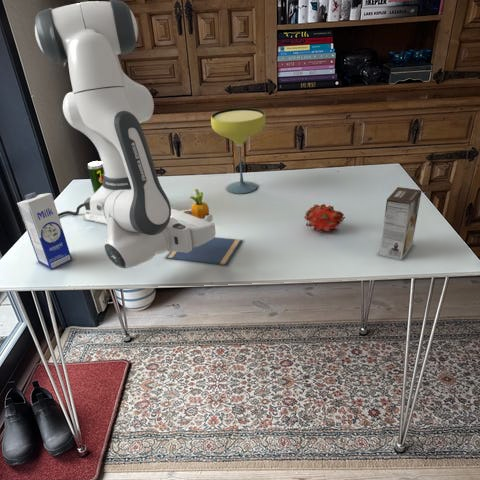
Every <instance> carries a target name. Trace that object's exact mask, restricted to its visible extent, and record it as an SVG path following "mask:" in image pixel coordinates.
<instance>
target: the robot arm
mask: <svg viewBox="0 0 480 480" xmlns="http://www.w3.org/2000/svg"><path fill="white" fill-rule="evenodd" d="M138 35H139V28H138V24H137V20H136V18H135V15H134V13H133V11H132V10H131V8H130V6H129V5H128V4H127V3H126V2H125V1H122V0H109V1H103V0H102V1H99V0H95V1H94V0H93V1H81V2H80V3H73V4H67V5H62V6H59V7H55V8H51V7H48V8H45V9H43V10H41V11H39V12H37V14H36V16H35V18H34V36H35V39H36V42H37V45H38V47H39V49H40V51H41V52H42V53H43V55H44V56H45V58H46V59H47V60H49V61H50V62H52V63H53V64H59V65H60V66H61V67H62V68H65V67H66V64H67V63H68V71H69V78H70V79H69V80H70V83H71V88H72V91H70V92H68V93H67V92H66V94H65V95H64V98H63V102H62V113H63V115H64V118H65V120H66V121H67V123H68V124H69V125H70V126H71V127H72V128H73V129H75V130H76V131H79V132H81V133H82V134H83V135H85V136H86V137H87V138H88V139H89V140H90V141H91V142H92V143H93V145H94V146H95V148H96V150H97V152H98V155H99V158H100V162H102V165H103V168H104V174H103V175H102V176H101V177H100V178H98V179H100V180H99V182H100V181H101V180H103V183H102V186H101V187H100V188H99V189H98V190H97V191H96V192H95V193H94V192H93V194H92V195H91V196H90V197H86V199H85V201H84V202H83V203H81V204H79V205H77V207H76V211H71V210H65V211H62V212H58V216H59V217H61V216H64V215H73V216H77V215H78V214H79V213H80V210H81V208H83V207H84V208H85V211H86V212H85V214H84V219H85V220H87V221H91V222H96V223H100V224H105V225H106V231H107V232H106V239H105V241H104V251H105V254H106V255H107V258H108V259H109V260H110V262H112V263H113V264H114V265H115V266H117V267H119V268H121V269H132V268H134V267H137V266H139V265H142V264H144V263H146V262H148V261H150V260H152V259H153V258H154V257H155V256H156V255H161V254H164V253H166V252H169V253H170V252H171V251H177V252H184V253H188V252H190V251H192V247H198V246H201V245H203V244H205V243H207V242H208V241H210V240H212V239H213V238H214V237H215V238H216V225H215V223H214V222H213V220H214V216H213V215H212V214H210V213H209V214H207V215H204V219H203V218H202V219H200V218H197V217H195V216H192V211H191V208H190V209H183V210H178V209H175V208H173V207H171V202H170V200H169V198H168V195H167V194H166V193H165V191H164V189H163V187H162V185H161V183H160V180H159V176H158V173H157V171H156V167H155V164H154V160H153V157H152V155H151V152H150V148H149V144H148V142H147V139H146V136H145V133H144V130H143V127H142V125H141V124H142V123H145V122H148V121H150V120H151V118H152V117H153V114H154V110H155V101H154V98H153V95H152V94H151V92H150V90H149V89H148V88H147V87H146V86H144V85H143V84H140V83H138V82H136V81H135V80H133V79H131V78H130V77H129V76H128V75H127V74H126V73H125V72H124V70H123V68H122V65H121V62H120V59H119V56H118V55H122V56H124V55H127V54H129V53H132V52H134V50H135V48H136V47H137V42H138Z"/></svg>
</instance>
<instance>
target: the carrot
mask: <svg viewBox="0 0 480 480" xmlns="http://www.w3.org/2000/svg"><path fill="white" fill-rule="evenodd" d="M194 192H195V195H194V196H193V195H190V196H189V199H192V200H193V201H194V203H192V204H191V205H190V209H191V211H192V216H195V217H197V218H200V219H202V218H203V219H204V215H207V214H210V209H209V206H208V203H207V202H204V201H203V198H204V193H203V191H200V190H199V189H198V188H195V189H194Z"/></svg>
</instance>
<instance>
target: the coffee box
mask: <svg viewBox="0 0 480 480" xmlns="http://www.w3.org/2000/svg"><path fill="white" fill-rule="evenodd" d="M422 192H423V190H422V189H416V188H408V187H400V186H397V187H396V189H394V191H393V192H391V194H390V195H389V196H388V197H387V199H386V203H385V210H384V217H383V218H384V219H383V225H382V226H383V227H382V232H381V241H380V248H379V256H383V257H387V258H392V259H395V260H400V261H402V260H403V259H404V258H405V256H406V255H407V253H408V252H409V250H410V249H411V248H412V246H413V242H414V237H415V231H416V226H417V220H418V214H419V210H420V204H421V198H422Z"/></svg>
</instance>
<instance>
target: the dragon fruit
mask: <svg viewBox="0 0 480 480" xmlns="http://www.w3.org/2000/svg"><path fill="white" fill-rule="evenodd" d="M304 219H305V221H307V222H306V224H305V226H306V227H309V228H313V229H314V231H318V232H319V233H320V234H323V232H324V231H327V232H331V233H332V232H334V231H336V230H337V227H338V226H339V225H341V223H342V222H343V221H344V220H345V219H346V216H345V214H344V213H343V212H342V211H339V210H335V209H334V206H333V205H328V206H327V204H325V203H323V204H321V205H319V204H313V206H312V207H310V208H309V209H308V210H307V211H305V216H304Z"/></svg>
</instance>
